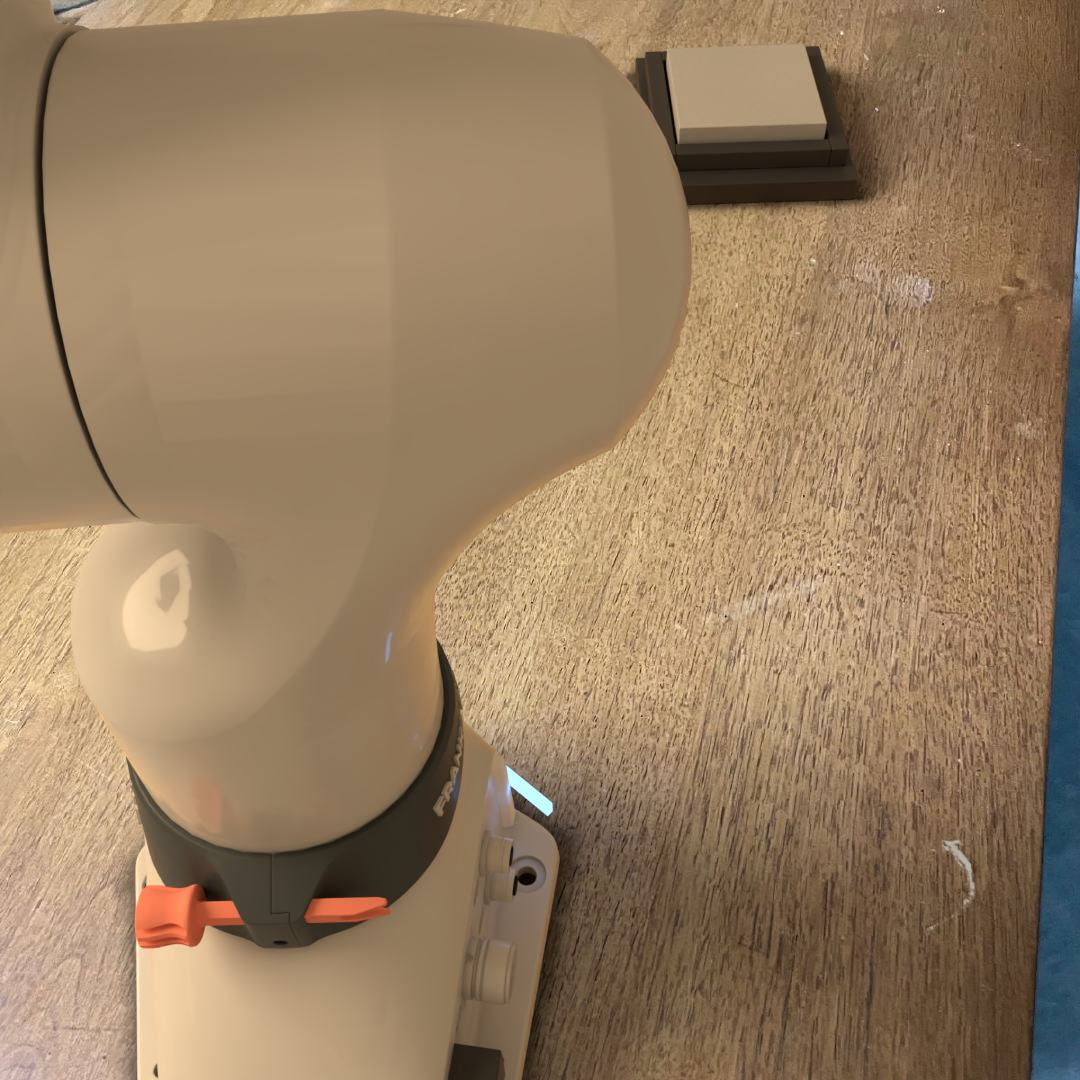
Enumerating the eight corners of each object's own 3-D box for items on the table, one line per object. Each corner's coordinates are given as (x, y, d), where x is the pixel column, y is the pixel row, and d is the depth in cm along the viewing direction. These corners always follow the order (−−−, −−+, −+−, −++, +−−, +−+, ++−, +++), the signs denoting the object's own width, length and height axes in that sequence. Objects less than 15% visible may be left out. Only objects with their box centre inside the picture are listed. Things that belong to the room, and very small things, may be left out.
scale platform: (823, 142, 83) (827, 122, 81) (677, 147, 83) (679, 127, 82) (801, 62, 89) (804, 43, 88) (665, 67, 89) (667, 47, 88)
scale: (854, 199, 83) (862, 161, 80) (650, 206, 83) (652, 168, 81) (817, 70, 93) (823, 34, 90) (634, 76, 93) (636, 40, 90)
